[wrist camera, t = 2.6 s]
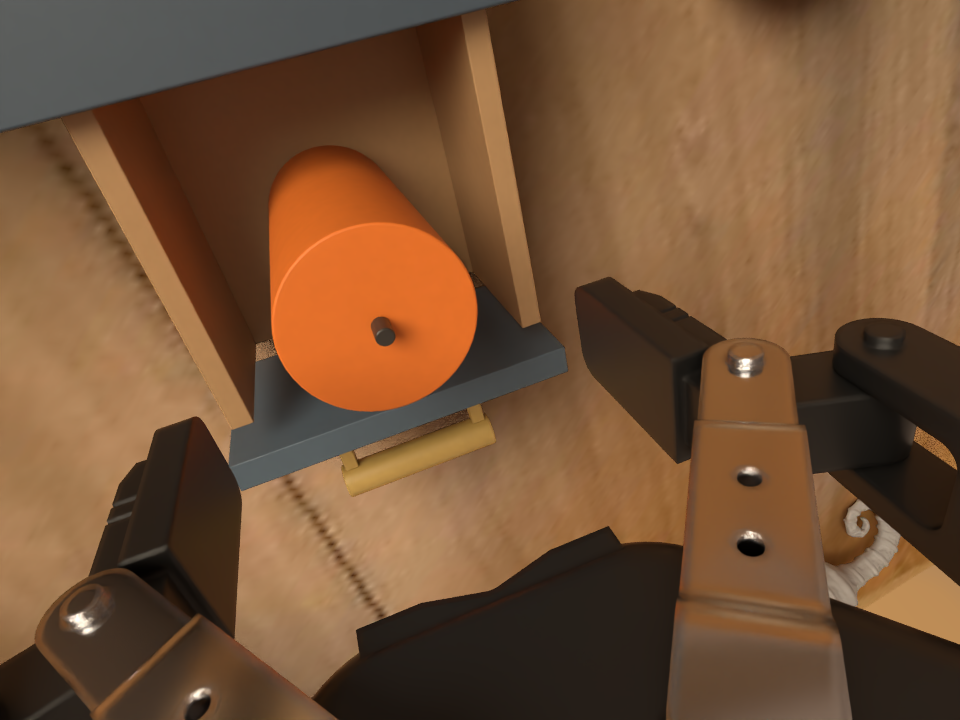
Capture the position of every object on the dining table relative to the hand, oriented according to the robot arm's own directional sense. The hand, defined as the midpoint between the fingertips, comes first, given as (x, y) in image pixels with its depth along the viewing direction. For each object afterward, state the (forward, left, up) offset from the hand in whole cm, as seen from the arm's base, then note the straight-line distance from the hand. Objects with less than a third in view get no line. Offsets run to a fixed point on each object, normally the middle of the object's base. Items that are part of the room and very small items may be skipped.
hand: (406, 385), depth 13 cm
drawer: (0, -1, -16) cm, 16 cm away
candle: (0, 0, -15) cm, 15 cm away
